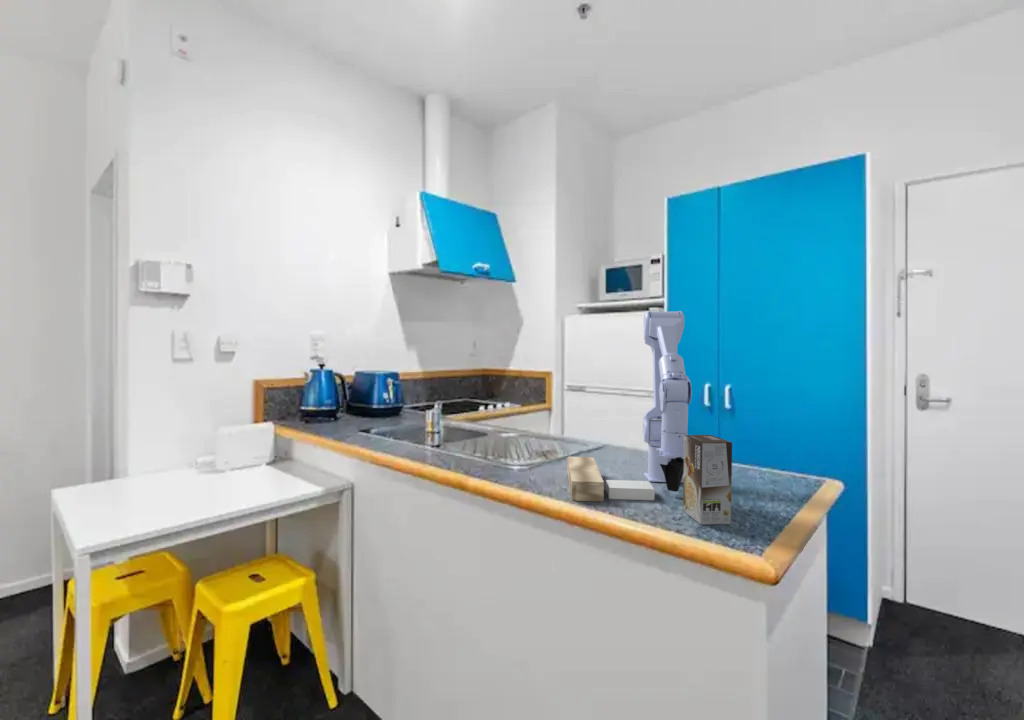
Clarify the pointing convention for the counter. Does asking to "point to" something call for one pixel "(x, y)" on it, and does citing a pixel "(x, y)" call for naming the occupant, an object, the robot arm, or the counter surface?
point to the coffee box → (707, 479)
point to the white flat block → (629, 490)
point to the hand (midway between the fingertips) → (673, 490)
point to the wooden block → (584, 479)
